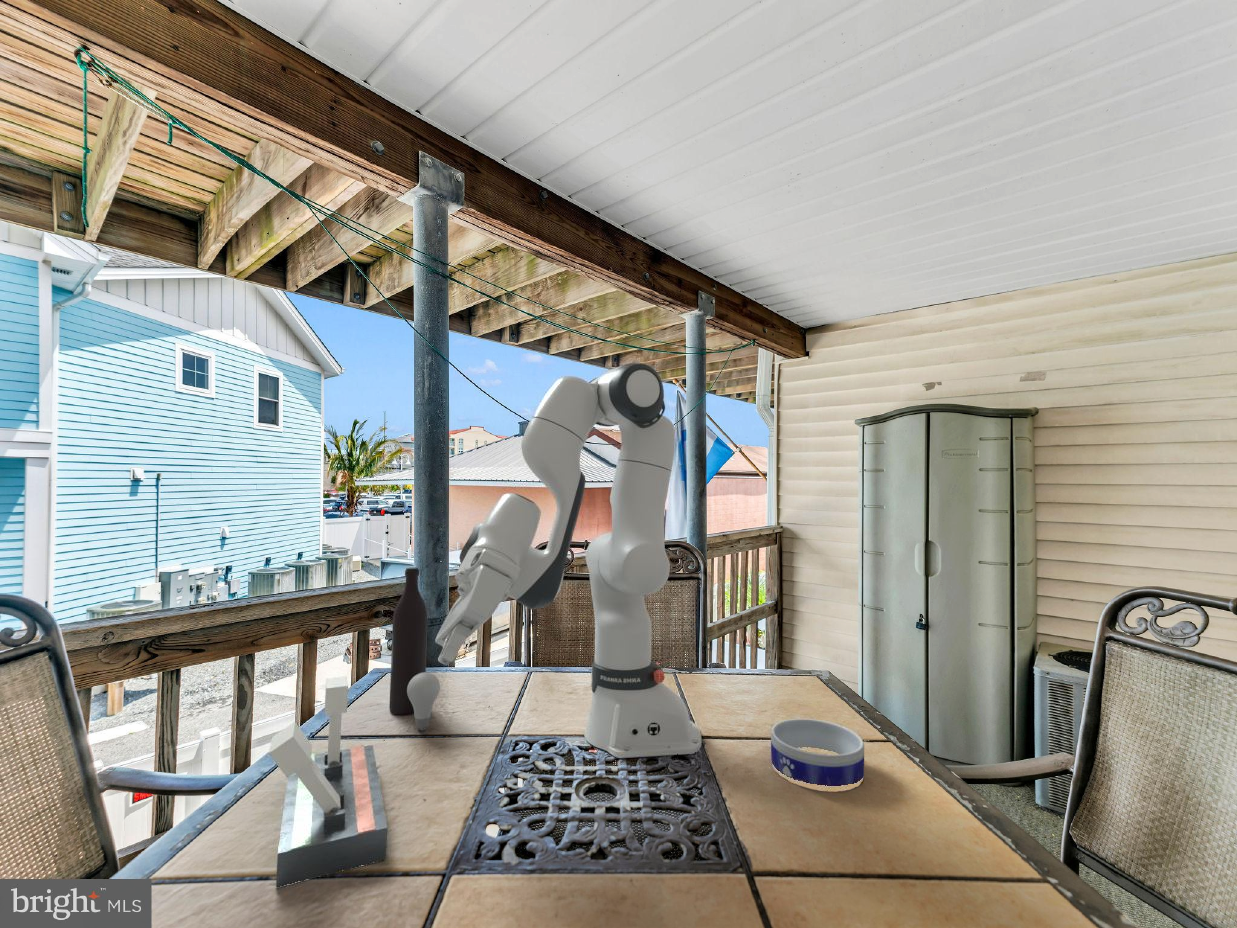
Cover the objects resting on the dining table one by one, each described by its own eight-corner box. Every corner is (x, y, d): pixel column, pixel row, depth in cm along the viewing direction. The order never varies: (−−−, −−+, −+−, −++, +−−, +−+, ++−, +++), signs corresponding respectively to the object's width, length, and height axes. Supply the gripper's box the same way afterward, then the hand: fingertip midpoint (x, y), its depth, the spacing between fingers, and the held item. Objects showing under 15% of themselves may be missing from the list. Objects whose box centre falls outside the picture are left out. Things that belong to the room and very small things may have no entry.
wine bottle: (415, 700, 126) (420, 565, 127) (430, 709, 121) (435, 568, 122) (383, 708, 121) (389, 567, 122) (397, 718, 116) (403, 571, 117)
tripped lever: (343, 757, 90) (347, 675, 91) (344, 771, 86) (348, 685, 86) (322, 760, 89) (326, 678, 89) (322, 775, 84) (325, 688, 85)
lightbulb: (443, 724, 113) (445, 668, 114) (430, 737, 107) (432, 678, 108) (414, 722, 114) (416, 667, 115) (399, 735, 108) (401, 677, 109)
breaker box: (371, 769, 95) (373, 736, 95) (386, 860, 72) (387, 816, 72) (289, 784, 90) (290, 749, 90) (275, 888, 66) (278, 841, 67)
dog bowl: (754, 770, 98) (754, 734, 98) (794, 742, 109) (794, 710, 109) (843, 805, 87) (843, 765, 87) (877, 770, 98) (877, 735, 99)
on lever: (347, 793, 78) (295, 721, 75) (348, 812, 73) (293, 736, 71) (326, 809, 76) (272, 737, 74) (326, 829, 72) (268, 753, 69)
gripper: (450, 590, 96) (409, 667, 87) (487, 545, 81) (442, 633, 72) (483, 606, 98) (446, 684, 89) (525, 565, 83) (486, 654, 74)
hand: (444, 661), depth 80 cm, fingers closed
